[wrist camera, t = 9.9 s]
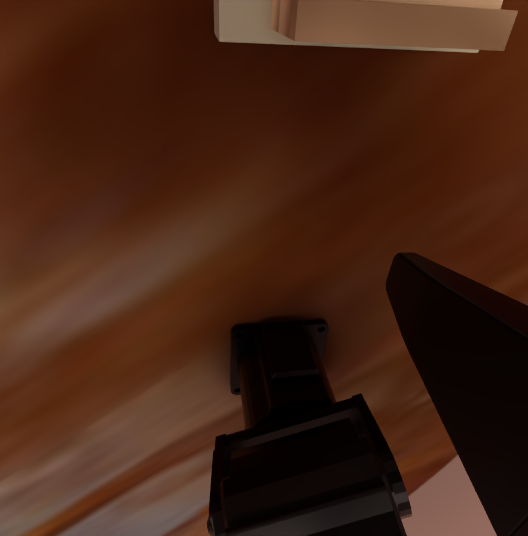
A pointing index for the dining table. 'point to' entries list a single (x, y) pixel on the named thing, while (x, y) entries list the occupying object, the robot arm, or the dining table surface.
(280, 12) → the castle tower
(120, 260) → the dining table surface
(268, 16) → the dock
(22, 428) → the dining table surface
